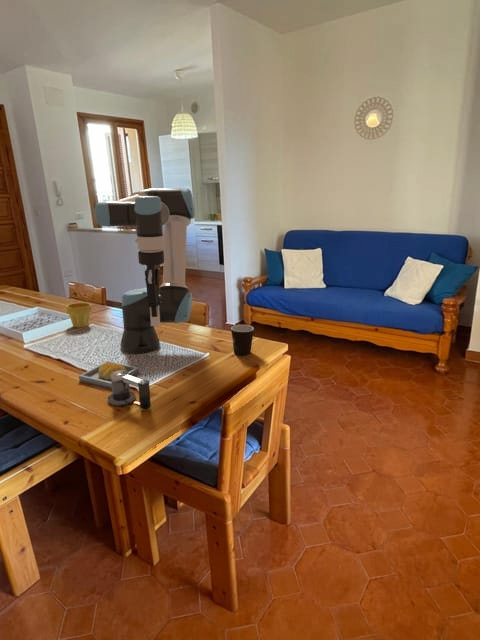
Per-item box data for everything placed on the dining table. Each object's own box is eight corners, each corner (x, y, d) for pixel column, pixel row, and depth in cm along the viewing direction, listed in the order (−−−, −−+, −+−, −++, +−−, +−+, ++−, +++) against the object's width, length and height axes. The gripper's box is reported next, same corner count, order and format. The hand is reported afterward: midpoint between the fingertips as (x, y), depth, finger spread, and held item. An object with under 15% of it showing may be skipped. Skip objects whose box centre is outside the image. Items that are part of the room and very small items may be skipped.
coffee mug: (251, 357, 155) (251, 332, 152) (228, 356, 156) (228, 331, 153) (256, 347, 166) (256, 323, 163) (235, 345, 167) (235, 321, 164)
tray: (79, 381, 135) (78, 375, 134) (108, 366, 147) (107, 360, 146) (112, 389, 130) (111, 383, 129) (139, 372, 141) (138, 367, 141)
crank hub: (102, 403, 121) (99, 382, 119) (120, 391, 128) (118, 371, 126) (136, 412, 116) (135, 390, 114) (153, 399, 123) (152, 379, 121)
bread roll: (112, 368, 144) (111, 357, 142) (130, 374, 139) (129, 363, 138) (92, 376, 137) (91, 365, 136) (110, 383, 132) (109, 371, 131)
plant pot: (84, 320, 198) (82, 301, 195) (97, 324, 192) (95, 304, 189) (64, 326, 190) (61, 305, 187) (77, 330, 184) (74, 309, 181)
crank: (109, 397, 122) (107, 374, 120) (122, 391, 126) (120, 368, 124) (142, 411, 115) (140, 387, 112) (155, 404, 119) (154, 380, 116)
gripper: (141, 247, 129) (146, 319, 136) (134, 254, 116) (140, 332, 124) (165, 247, 129) (169, 318, 136) (161, 253, 117) (165, 332, 124)
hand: (155, 325), depth 130 cm, fingers closed
